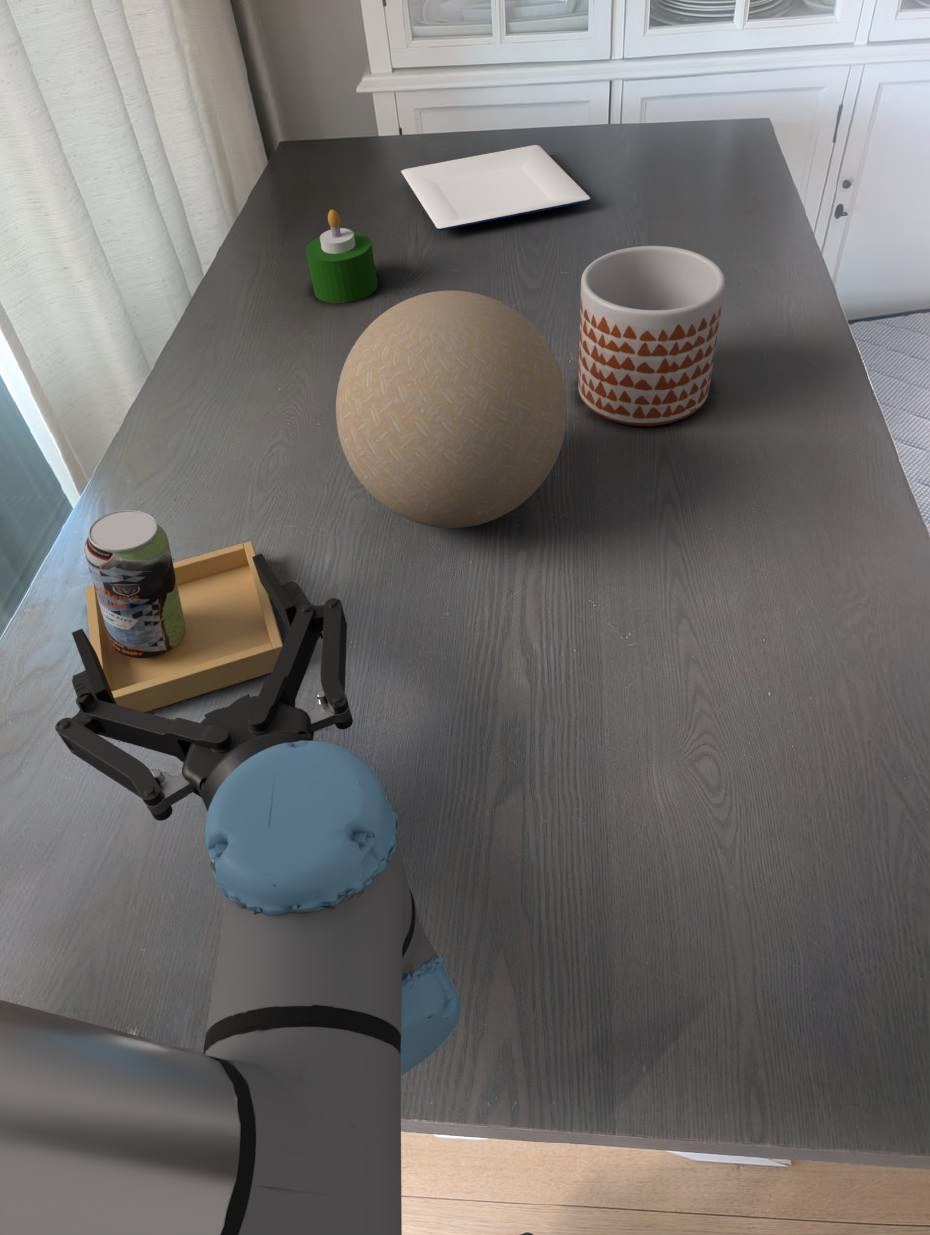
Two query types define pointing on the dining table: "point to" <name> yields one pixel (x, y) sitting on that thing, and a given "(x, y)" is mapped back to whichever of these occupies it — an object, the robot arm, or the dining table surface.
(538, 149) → the plate
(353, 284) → the candle
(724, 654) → the dining table surface
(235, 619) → the wooden serving tray
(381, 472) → the decorative sphere
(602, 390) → the planter
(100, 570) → the beverage can
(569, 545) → the dining table surface
